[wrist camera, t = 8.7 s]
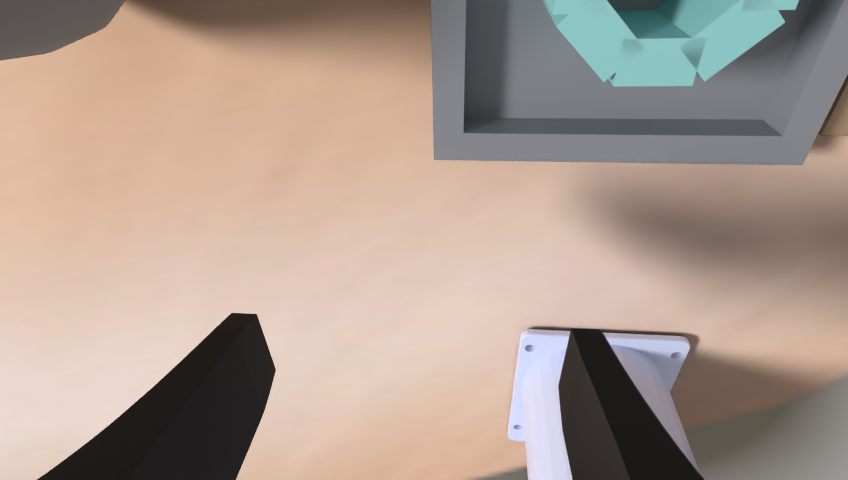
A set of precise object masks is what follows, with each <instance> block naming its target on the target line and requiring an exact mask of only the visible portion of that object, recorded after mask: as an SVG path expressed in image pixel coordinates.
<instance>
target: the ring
mask: <svg viewBox="0 0 848 480" xmlns="http://www.w3.org/2000/svg"><path fill="white" fill-rule="evenodd" d="M542 1H543V2H544V4H545V6H546V8H547V10H548V12H549V14H550V16H551V18H552V20H553V22H554V23H555V25H556V27H557V28H558V29H559V30H560V32H561V33H562V34H563V35H564V36H565V38H566V39H567V40H568V41H569V42H570V43H571V45H572V46H573V47H574V48H575V49H576V50H577V52H578V53H579V54H580V55H581V56H582V57H583V59H584V60H585V61H586V62H587V63H588V65H589V66H590V67H591V68H592V69H593V70H594V72H595V73H596V74H597V75H598V76H599V77H600V79H601V80H602V81H603V82H605V81H606V80H607V79H609V80H610V82H611V83H612V85H613V86H614V87H619V86H693V82H694V79H695V76H696V74H697V75H698V76H699V77H700V78H701V79H702V80H703V81H706V80H708V79H709V78H710V77H712V76H713V75H714V74H716V73H717V72H718V71H720V70H721V69H723V68H724V67H725V66H727V65H728V64H729V63H731V62H732V61H733V60H735V59H736V58H737V57H739V56H740V55H742V54H743V53H744V52H746V51H747V50H748V49H750V48H751V47H752V46H754V45H755V44H757V43H758V42H759V41H761V40H762V39H763V38H765V37H766V36H767V35H769V34H770V33H771V32H773V31H774V30H776V29H777V28H778V27H780V26H781V25H782V24H784V23H785V21H784V19H783V18H782V16H781V14H780V13H779V11H778V10H795V9H796V7H797V4H798V2H799V0H665V1H664V2H663V3H662V4H661V5H660V6H658V7H657V8H656V9H655V10H617V11H615V10H614V9H613V7H612V6H611V5H610V4H609V2H608V1H607V0H542Z"/></svg>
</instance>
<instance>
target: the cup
mask: <svg viewBox="0 0 848 480" xmlns="http://www.w3.org/2000/svg"><path fill="white" fill-rule="evenodd" d="M124 2H125V0H0V60H7V59H13V58H20V57H27V56H34V55H40V54H46V53H49V52H53V51H55V50H57V49H60V48H62V47H64V46H66V45H69V44H71V43H73V42H75V41H77V40H80V39H82V38H84V37H86V36H88V35H91V34H93V33H95V32H97V31H99V30H101V29H103V28H104V27H106V26H107V25H108V24H109V22H110V21H111V20H112V19H113V17H114V16H115V14H116V13H117V12H118V10H119V9H120V7H121V6H122V4H123V3H124Z"/></svg>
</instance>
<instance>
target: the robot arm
mask: <svg viewBox="0 0 848 480" xmlns="http://www.w3.org/2000/svg"><path fill="white" fill-rule="evenodd" d="M528 345H531V346H528ZM689 350H690V343H689V341H688V339H687V338H685V337H682V336H667V335H645V334H623V333H602V332H601V331H600V330H594V329H572V328H571V331H558V330H536V329H529V330H525V331H523V332H522V333H521V335H520V341H519V349H518V356H517V364H516V371H515V379H514V386H513V394H512V401H511V409H510V416H509V424H508V437H509V438H510V439H511V440H514V441H525V446H526V458H527V470H528V480H704V479H703V477H702V476H701V475H700V472H699V470H698V467H697V464H696V461H695V459H694V456H693V453H692V451H691V448H690V445H689V442H688V440H687V437H686V434H685V432H684V429H683V426H682V424H681V421H680V418H679V416H678V413H677V410H676V408H675V405H674V402H673V399H672V397H671V394H670V391H671V389H672V387H673V385H674V383H675V380H676V378H677V376H678V374H679V372H680V370H681V367H682V365H683V363H684V361H685V359H686V357H687V354H688V352H689ZM275 371H276V369H275V366H274V363H273V360H272V358H271V355H270V352H269V349H268V346H267V343H266V340H265V337H264V334H263V331H262V328H261V326H260V323H259V320H258V317H257V314H241V313H231V314H230V315H229V316H228V317H227V318H226V319H225V320H224V321H223V322H222V323H221V324H220V325H219V326H217V327H216V328H215V329H214V330H213V331H212V332H211V333H210V334H209V335H208V336H207V337H206V338H205V339H204V340H203V341H202V342H201V343H200V344H199V345H198V346H197V347H196V348H194V349H193V350H192V351H191V352H190V353H189V354H188V355H187V356H186V357H185V358H184V359H183V360H182V361H181V362H180V363H179V364H178V365H177V366H175V367H174V368H173V369H172V370H171V371H170V372H169V373H168V374H167V375H166V376H165V377H164V378H163V379H161V380H160V381H159V382H158V383H157V384H156V385H155V386H154V387H153V388H152V389H151V390H149V391H148V392H147V393H146V394H145V395H144V396H143V397H141V398H140V399H139V400H138V401H137V402H136V403H134V404H133V405H132V406H131V407H130V408H129V409H128V410H126V411H125V412H124V413H123V414H122V415H121V416H119V417H118V418H117V419H116V420H115V421H114V422H112V423H111V424H110V425H109V426H108V427H106V428H105V429H104V430H103V431H101V432H100V433H99V434H98V435H96V436H95V437H94V438H93V439H91V440H90V441H89V442H88V443H86V444H85V445H84V446H82V447H81V448H80V449H78V450H77V451H76V452H74V453H73V454H72V455H70V456H69V457H68V458H67V459H65V460H64V461H63V462H61V463H60V464H59V465H57V466H56V467H54V468H53V469H52V470H50V471H49V472H48V473H46V474H45V475H43V476H42V477H40V478H39V479H37V480H236V478H237V475H238V473H239V470H240V468H241V466H242V463H243V461H244V459H245V456H246V454H247V452H248V449H249V447H250V445H251V442H252V440H253V437H254V435H255V432H256V430H257V428H258V425H259V423H260V420H261V418H262V415H263V413H264V410H265V407H266V403H267V400H268V397H269V393H270V390H271V386H272V382H273V378H274V375H275Z"/></svg>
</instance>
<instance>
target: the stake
mask: <svg viewBox="0 0 848 480" xmlns="http://www.w3.org/2000/svg"><path fill="white" fill-rule="evenodd" d="M819 134H820V135H839V136H848V75H847V77H846V79H845V81H844V83H843V85H842V87H841V89H840V91H839V93H838V95H837V97H836V99H835V101H834V103H833V105H832V107H831V109H830V111H829V113H828V115H827V117H826V119H825V121H824V123H823V125H822V127H821V129H820V131H819Z"/></svg>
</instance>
